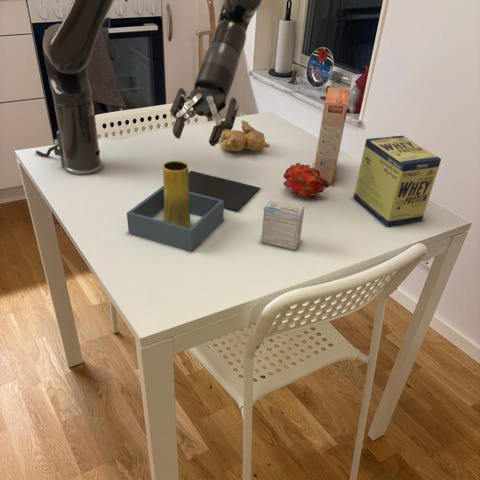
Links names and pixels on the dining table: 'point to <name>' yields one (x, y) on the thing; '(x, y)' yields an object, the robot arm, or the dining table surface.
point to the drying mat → (221, 189)
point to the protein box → (395, 179)
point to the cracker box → (331, 132)
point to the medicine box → (282, 224)
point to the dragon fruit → (304, 180)
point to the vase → (176, 193)
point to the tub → (171, 233)
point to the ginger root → (243, 139)
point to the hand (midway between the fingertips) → (193, 140)
